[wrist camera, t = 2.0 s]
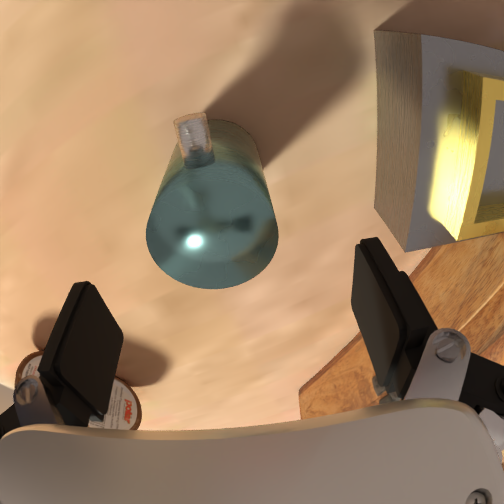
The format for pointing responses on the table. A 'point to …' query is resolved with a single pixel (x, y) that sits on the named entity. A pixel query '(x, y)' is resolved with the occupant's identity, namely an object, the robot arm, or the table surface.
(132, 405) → the tin
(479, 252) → the wooden box
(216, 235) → the spout can
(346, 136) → the table surface
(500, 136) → the grey yellow box
